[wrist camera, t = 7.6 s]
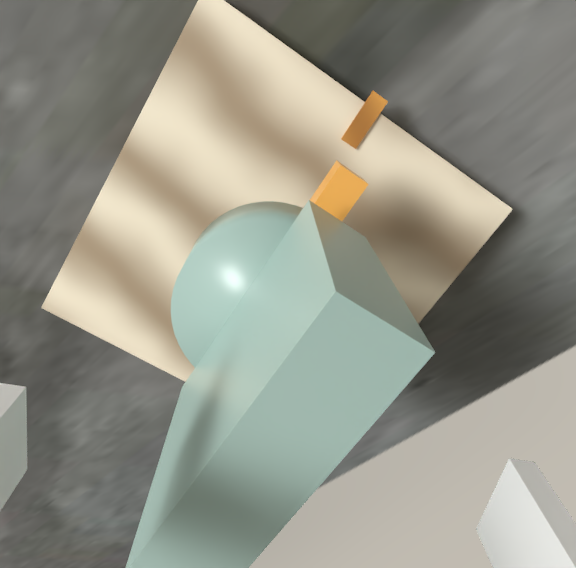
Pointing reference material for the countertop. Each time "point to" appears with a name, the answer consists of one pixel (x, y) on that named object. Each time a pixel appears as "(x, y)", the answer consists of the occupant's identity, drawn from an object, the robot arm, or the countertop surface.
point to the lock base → (256, 183)
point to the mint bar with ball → (272, 374)
